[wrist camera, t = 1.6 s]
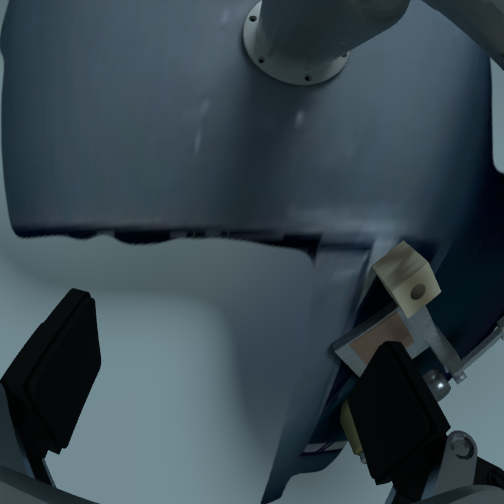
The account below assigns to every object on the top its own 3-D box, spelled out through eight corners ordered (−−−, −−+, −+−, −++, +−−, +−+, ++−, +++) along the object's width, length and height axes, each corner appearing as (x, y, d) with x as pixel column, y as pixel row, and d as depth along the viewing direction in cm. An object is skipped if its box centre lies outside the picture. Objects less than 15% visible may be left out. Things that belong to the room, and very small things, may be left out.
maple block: (403, 240, 38) (428, 262, 32) (417, 268, 40) (441, 292, 34) (371, 265, 40) (391, 291, 33) (387, 292, 42) (407, 318, 35)
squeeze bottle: (336, 416, 55) (355, 487, 38) (335, 396, 51) (357, 474, 35) (372, 406, 54) (396, 473, 38) (374, 385, 51) (403, 458, 35)
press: (415, 283, 41) (454, 328, 30) (438, 333, 46) (469, 375, 35) (331, 343, 45) (351, 400, 34) (368, 382, 50) (387, 430, 39)
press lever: (508, 302, 34) (521, 315, 31) (509, 317, 36) (522, 329, 32) (415, 380, 39) (425, 398, 35) (422, 390, 41) (430, 406, 37)
